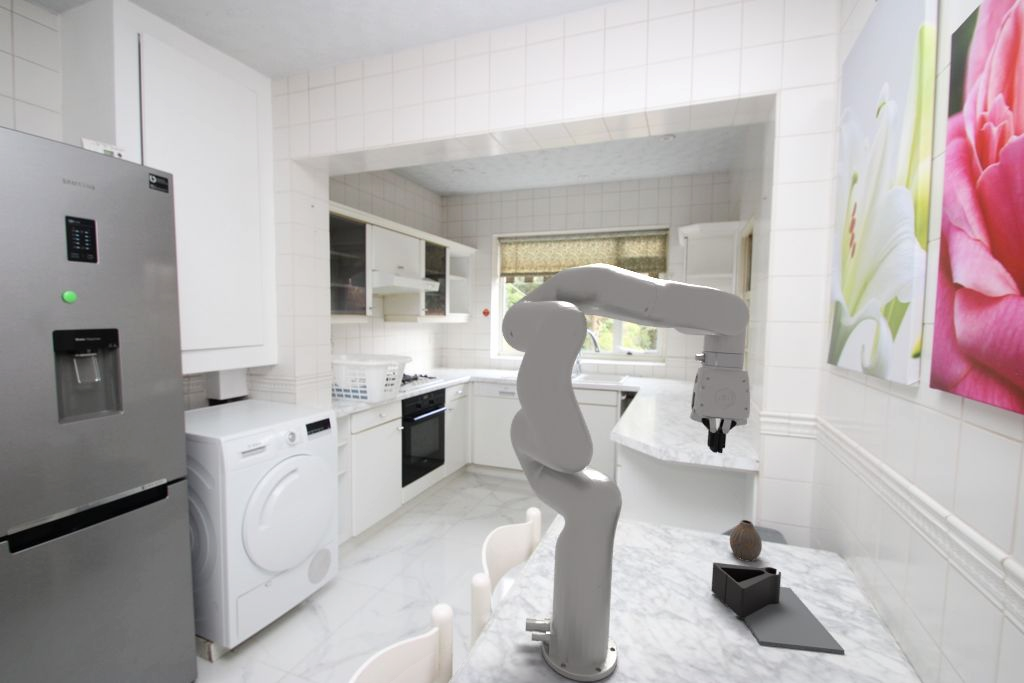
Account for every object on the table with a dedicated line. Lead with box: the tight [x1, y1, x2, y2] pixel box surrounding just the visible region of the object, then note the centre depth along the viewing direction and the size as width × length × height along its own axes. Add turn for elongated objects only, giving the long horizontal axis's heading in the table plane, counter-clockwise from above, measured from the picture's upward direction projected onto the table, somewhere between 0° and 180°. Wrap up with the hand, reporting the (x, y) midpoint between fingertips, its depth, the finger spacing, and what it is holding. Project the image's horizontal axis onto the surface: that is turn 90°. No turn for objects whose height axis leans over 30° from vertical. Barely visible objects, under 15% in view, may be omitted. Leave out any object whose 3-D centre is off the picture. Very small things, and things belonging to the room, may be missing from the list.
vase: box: [729, 519, 763, 562], centre depth 107 cm, size 7×7×9 cm
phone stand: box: [711, 562, 782, 620], centre depth 88 cm, size 9×6×12 cm
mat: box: [742, 586, 845, 654], centre depth 85 cm, size 14×18×1 cm
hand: (715, 450), depth 89 cm, fingers closed
